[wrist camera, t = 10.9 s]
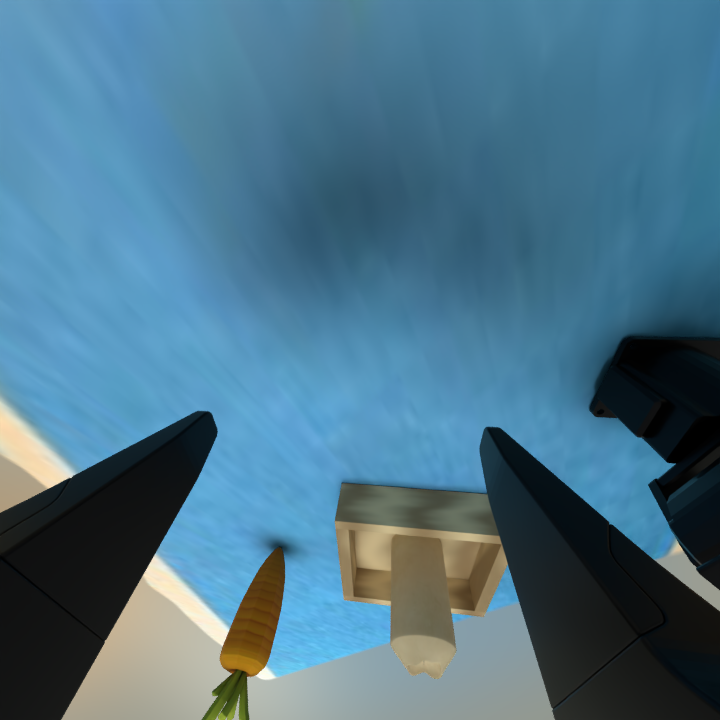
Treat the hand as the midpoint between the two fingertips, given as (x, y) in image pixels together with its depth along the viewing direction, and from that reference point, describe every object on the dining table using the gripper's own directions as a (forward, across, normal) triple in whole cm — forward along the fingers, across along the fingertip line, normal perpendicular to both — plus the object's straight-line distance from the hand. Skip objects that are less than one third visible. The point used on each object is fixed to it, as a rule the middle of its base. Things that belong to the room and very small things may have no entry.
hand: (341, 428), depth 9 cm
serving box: (+12, -5, +27) cm, 30 cm away
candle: (+11, -5, +27) cm, 30 cm away
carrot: (+12, +12, +33) cm, 37 cm away
